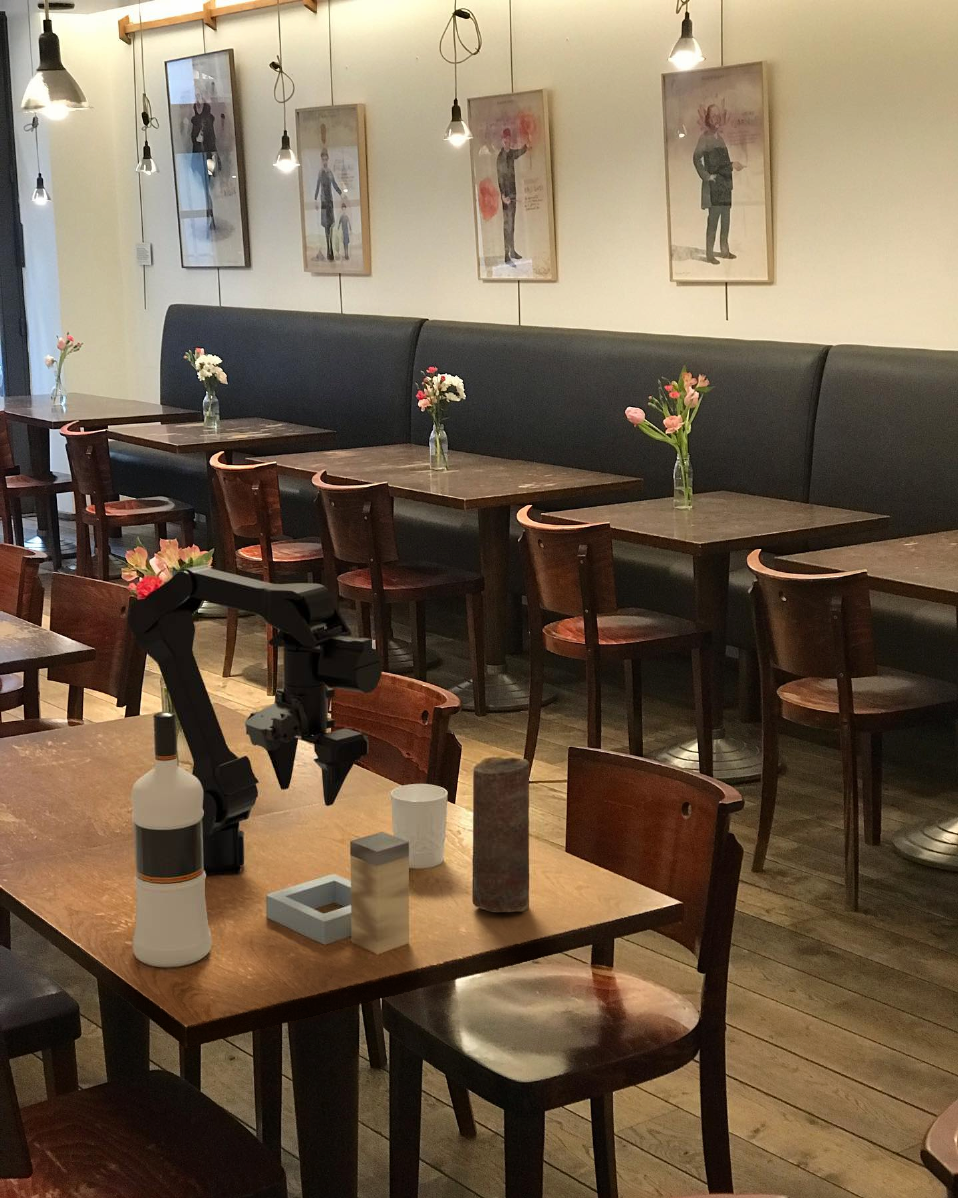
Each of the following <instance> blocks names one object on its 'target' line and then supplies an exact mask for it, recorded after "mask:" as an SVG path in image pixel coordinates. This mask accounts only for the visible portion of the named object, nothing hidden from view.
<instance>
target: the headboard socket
mask: <svg viewBox="0 0 958 1198" xmlns="http://www.w3.org/2000/svg"><path fill="white" fill-rule="evenodd" d="M333 903H335V904H338V905H340V906H342V907H341V908H338V909H334V910H331V911H328V912H326V913H323V912H321V911H319V910H316V909H319V908H322V907H325V906H328V905H331V904H333ZM265 917H266V918H267V919H269V920H271V921H274V922H276V923H278V924H280V925H282V926H284V927H286V928H289V929H290V930H293V931H295V932H296V933H299V934H301V935H303V936H305V937H307V938H310V939H311V940H314V941H316V942H318V943H320V944H322V945H324V946H326V945H328V944H332V943H334V942H338V941H340V940H343V939H345V938H349V937H351V879H350V880H349V879H348V878H345V877H343V876H340V875H338V874H335V873H332V874H329V875H325V876H322V877H319V878H316V879H312V880H310V881H305V882H302V883H300V884H296V885H293V886H290V887H286V888H283V889H280V890H277V891H273V892H270V893H267V894H265Z"/></svg>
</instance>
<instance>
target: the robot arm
mask: <svg viewBox="0 0 958 1198" xmlns="http://www.w3.org/2000/svg"><path fill="white" fill-rule="evenodd" d="M205 602H207V603H211V604H215V605H218V606H222V607H225V608H226V607H227V608H230V609H233V610H238V611H242V612H246V613H250V614H254V615H257V616H259V617H261V618H263V619H264V621H266V623H267V624H268V625H269V626H271V627H273V628H275V629H277V630H279V631H278V632H277V633H276V634H275V635H274V636H273V637H271V639H269V640H268V644H269V645H270V646H273V647H279V648H282V674H283V675H282V676H283V677H282V678H283V684H282V687H283V688H279V689H276V692H275V694H274V702H273V704H271V705H269V706H267V707H264V708H263V709H262V710H259V711H255V712H251V713H250V715H249V716H248V717H247V719H246V720H245V722H244V726H245V728H246V729H245V731H246V732H245V733H246V735H248V737H249V740H250V743H251V745H253V746H258V747H261V748H263V749H264V750H265V751H266V753H267V754H268V757H269V759H270V762H271V765H272V767H273V771H274V774H275V776H276V779H277V781H278V785H279V789H280V790H283V791H284V790H288V789H289V788H290V784H291V781H292V777H293V771H294V766H295V761H296V753H297V750H298V744H299V740H300V741H303V742H307V743H310V744H313V748H314V751H313V752H314V753H315V755H316V757H317V758H314V759H313V761H314V762H315V764H316V765H317V766H318V767H319V768H320V769H321V779H322V792H323V793H322V795H323V799H324V805H325V806H327V807H329V806H332V805H334V803H335V801H336V799H337V797H338V794H339V793H340V792H341V789H342V786H343V784H344V783H345V780H346V778H347V776H348V775H349V773H350V771H351V770H352V768H353V766H354V764H355V763H356V761H358V760H359V761H360V760H361V759H362V757H364V756H367V755H369V738H368V737H367V736H366V735H365V734H364V733H362V732H359V731H355V730H353V729H349V728H342V729H337V730H334V731H330V732H327V731H328V730H329V729H332V728H335V721H336V720H335V719H334V718H330V717H329V713H328V712H329V711H328V709H329V708H328V707H329V705H328V699H330V698H334V697H335V689H339V690H340V689H341V690H346V691H353V692H357V693H364V694H369V693H372V691H374V690H375V689H376V688H377V687H378V685H379V683H380V680H381V677H382V674H383V662H382V661H381V656H380V655H379V652H378V651H377V649H375V648H374V647H373V639H371V638H367V637H361V638H360V637H359V638H356V637H352V631H351V629H350V628H349V627H348V625H347V622H346V621H345V619H344V618H343V615H342V614H341V612H340V611H339V609H338V607H337V605H336V604H335V602H334V599H333V596H332V595H331V593H330V590H329V588H327V587H326V586H325V585H323V584H320V583H307V582H306V583H302V582H300V583H299V582H297V583H295V582H294V583H283V584H282V583H272V582H271V583H270V582H267V581H262V580H260V579H254V578H250V577H247V576H242V575H238V574H235V573H229V572H225V571H221V570H218V569H214V568H212V567H210V566H207V565H203V564H202V565H201V564H200V565H196V566H195V565H194V566H190V567H186V568H182V569H180V570H178V571H177V572H176V573H175V574H174V575H173V576H172V577H171V578H170V579H169V580H168V581H166V582H165V583H163V584H162V585H160V586H159V587H157V588H155V590H153V591H151V592H149V593H148V594H147V595H146V596H145V597H143V598H140V599H137V600H135V601H134V602H133V603H132V605H131V607H130V609H129V613H127V622H128V626H129V628H130V631H131V633H132V634H133V636H134V637H133V638H135V640H136V642H137V644H138V646H139V648H140V649H141V650H142V651H143V652H144V653H145V654H147V655H148V656H149V657H150V658H151V659H152V660H153V661H154V662H155V663H156V664H157V666H158V667H159V670H160V674H161V676H162V679H163V681H164V684H165V686H166V690H167V692H168V695H169V698H170V700H171V703H172V705H173V709H174V711H175V712H174V713H175V715H176V716H177V719H178V722H179V725H180V728H181V730H182V733H183V736H184V738H185V741H186V744H187V747H188V750H189V753H190V754H191V757H192V762H193V766H192V773H191V774H192V775H194V776H195V777H197V779H198V780H199V781H200V783H201V785H202V788H203V807H202V809H203V810H204V814H203V817H202V830H203V864H204V871H205V873H206V876H213V875H214V876H216V875H239V874H241V868H242V866H244V865H245V859H246V857H245V831H244V830H240V822H243V821H246V820H249V818H250V814H251V811H252V809H253V807H254V806H255V804H256V802H257V801H256V800H257V798H258V797H259V791H258V787H257V784H259V779H258V778H257V777H256V775H255V773H254V771H253V769H252V763H251V760H250V759H249V757H248V756H247V755H244V756H241V757H238V756H237V754H235V753H234V752H232V751H231V750H230V748H229V746H228V744H227V742H226V739H225V736H224V734H223V730H222V728H221V726H220V723H219V720H218V717H217V714H216V712H215V709H214V705H213V704H212V703H213V702H212V701H211V699H210V695H209V693H208V690H207V687H206V684H205V682H204V679H203V677H202V674H201V671H200V668H199V666H198V663H197V660H196V658H195V656H194V652H193V651H194V650H193V649H194V642H195V641H194V640H195V635H196V634H195V633H196V626H195V622H194V618H193V617H194V615H195V614H196V613H197V612H198V611H199V610H200V609H201V608H202V607H203V606H204V603H205ZM323 627H326V628H323ZM319 628H323V629H321V630H320V629H319ZM317 629H319V630H317ZM313 630H316V631H313Z"/></svg>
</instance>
